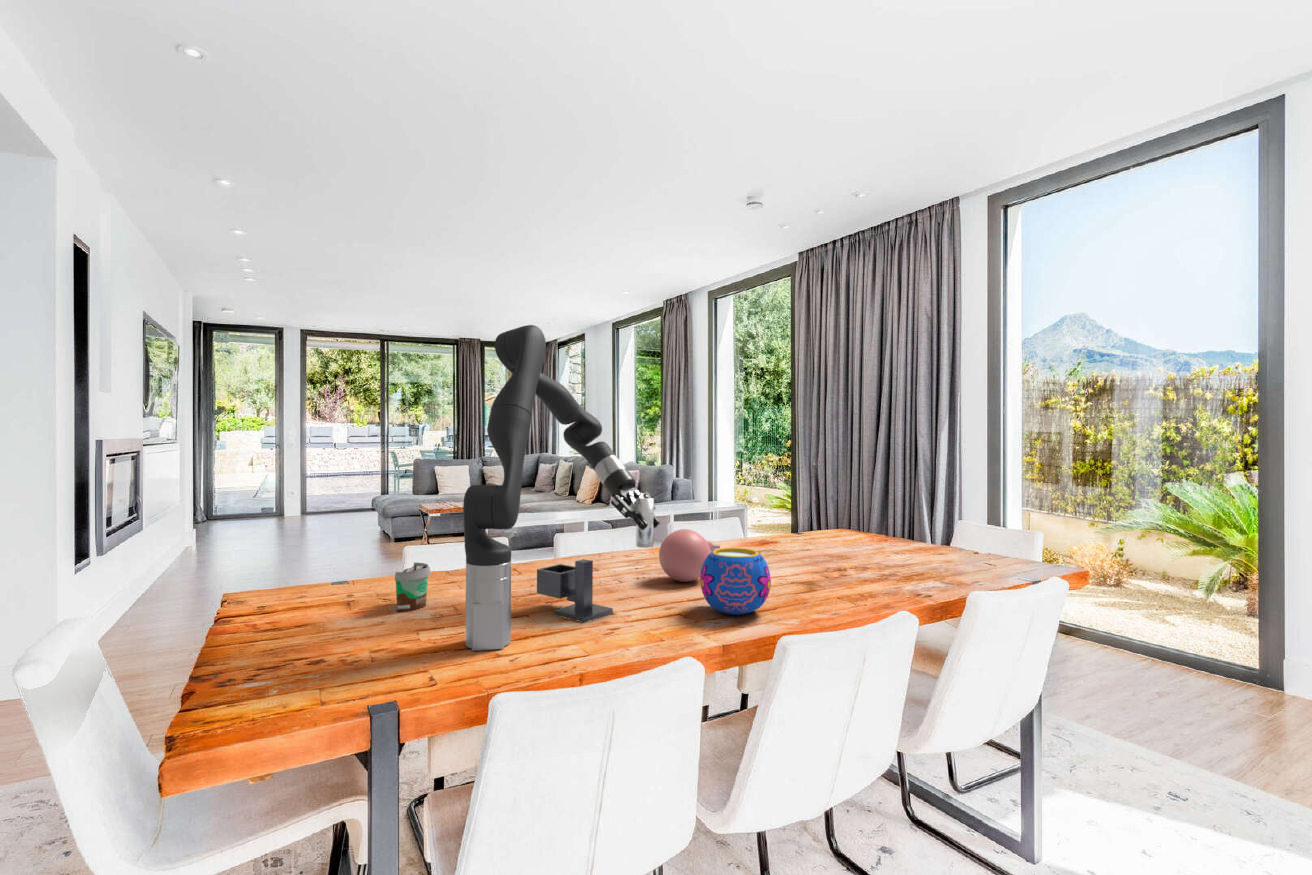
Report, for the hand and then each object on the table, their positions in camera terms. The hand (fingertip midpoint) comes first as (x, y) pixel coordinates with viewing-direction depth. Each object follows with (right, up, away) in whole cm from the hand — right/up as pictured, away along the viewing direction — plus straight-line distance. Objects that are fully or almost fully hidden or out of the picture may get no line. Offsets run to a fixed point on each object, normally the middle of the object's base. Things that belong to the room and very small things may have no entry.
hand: (651, 526), depth 162 cm
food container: (-59, -20, 0) cm, 62 cm away
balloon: (+12, -21, +30) cm, 39 cm away
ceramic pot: (+21, -21, -2) cm, 30 cm away
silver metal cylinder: (-2, -5, +1) cm, 5 cm away
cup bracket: (-19, -21, -3) cm, 28 cm away
